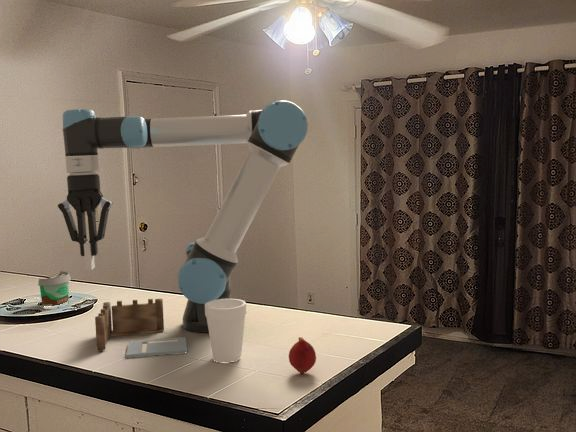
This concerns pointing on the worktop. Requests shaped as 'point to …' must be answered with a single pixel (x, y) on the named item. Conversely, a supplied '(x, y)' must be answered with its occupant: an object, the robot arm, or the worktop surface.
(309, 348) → the onion
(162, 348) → the card
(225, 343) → the foam cup
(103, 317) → the fence hinged panel
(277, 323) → the worktop surface
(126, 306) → the fence fixed panel
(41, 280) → the food container
